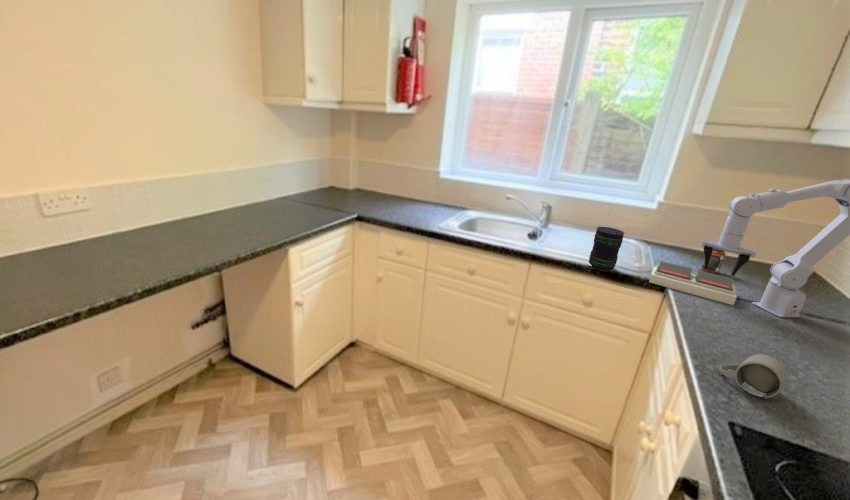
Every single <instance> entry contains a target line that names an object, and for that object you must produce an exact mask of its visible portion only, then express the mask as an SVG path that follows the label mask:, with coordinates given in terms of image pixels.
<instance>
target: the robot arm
mask: <svg viewBox="0 0 850 500" xmlns="http://www.w3.org/2000/svg"><path fill="white" fill-rule="evenodd" d="M748 195H749V196H746V195H745V196H744V195H740V196H739V195H738V196H736V197H735V198H734V199H732V200H731V201H730V202H729V203H728V207H729V208H728V209H729V210H730V211H729V213H728V216H727V218H726V220H725V223H724V226H723V228H722V231H721V234H720V236H719V239H718V242H717V241H716V242H715V241H710V240H704V239H702V240H701V242H700V247H701V248H703V253H704V259H705V265H704V269H707V267H708V263H709V259H710V257H711V254H712V251H713V249H717V250H722V251H724V252H725V253H726V252H728V253H732V254H735V255H738V256H737V257H736V258H737V259H736V261H735V265H734V266H733V269H732V271H731V276H733V277H735V275H736V274H737V272H738V271H739V270H740V269H741V268H742V267H743V266H744V265H745V264H746V263H748V262H749V261H750V259H751V258H753V259H754V258H755V257H756V254H757V250H752V249H749V248H744V247H741V244H742V242H743V239H744V237H745V233H746V231H747V229H748V225H749V223H750V220H751V217H752V216H754V215H755V214H756V213H762V212H766V211H767V212H768V211H771V210H777V209H781V208H785V206H787V204H789V203H792V202H799V201H804V200H805V201H806V200H810V199H816V198H822V197H826V198H827V197H828V198H832V199H834V200H835V201H836V202H837V205H838V207H839V213H840V214H838V216H837V217H835V218H834V219H833V220H832V221H831V222H829V223H828V225H827V226H825V227H824V228H823V229H822V230H821V231H820V232H818V233H817V234H816V235H815V236H814V237H813V238H811V239H810V240H809V241H808V242H807V243H806V244H805V245H804V246H803V247H802V248H801V249H799V250H798V251H797V252H796V253H794V254H791V255H789V256H786V257H784V259H782V260H781V261H777V262H775V263H773V265H771V267H770V269H769V270H770V271H769V272H770V275H771V277H770V278H769V280H768V283H767V285H766V288H765V290H764V292H763V295H762V297H761V299H760V301H753V302H751V304H753V305H754V306H757V307H758V308H761V309H762V310H765V311H766V312H769V313H771V314H773V315H775V316H777V317H779V318H800V316H801V315H800V313H801V311H802V309H803V307H804V304H805V302H806V300H807V295H806V294H805V292H802V291H800V290H799V289H800V288H802V287H803V286H805V285H806V284H807V281H808V279H809V277H810V276H811V275H812V274H813V273H814V269H815V265H816V264H817V263H818V262H820V260H821V261H822V259H823V258H824V257H825V256H826V255H828V254H829V253H830V252H831V251H833V250H834V249H835V248H836V247H837V246H838V245H839V244H841V243H842V242H843V241H844V240H845V239H847V238H848V237H849V236H850V178H842V179H835V180H829V181H825V182H821V183H817V184H813V185H809V186H808V185H807V186H805V187H800V188H796V189H793V190H789V191H784V190H782V189H776V188H769V189H768V191H764V192H760V193H756V194H755V193H749V194H748Z"/></svg>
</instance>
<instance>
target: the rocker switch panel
mask: <svg viewBox="0 0 850 500" xmlns="http://www.w3.org/2000/svg"><path fill="white" fill-rule="evenodd" d="M658 268H659V265H658V264H657V265H655V266H654V267H653V269H652V272H651V275H650V278H649V281H648V283H650V284H654V285H658V286H661V287H664V288H669V289H672V290H676V291H679V292H683V293H687V294H692V295H694V296H697V297H702V298H705V299H709V300H712V301H716V302H720V303H723V304H728V305H731V306H734V304H735V302H736V300H737V292H736V288H735V285H734V284H732V291H730V290H726V289H723V288H719V287H715V286H711V285H707V284H703V283H699V282H696V279H697V274H694V273H691V276H690V280H688V279H684V278H680V277H676V276H672V275H668V274H664V273H660V272H657V271H658Z"/></svg>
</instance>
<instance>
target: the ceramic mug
mask: <svg viewBox="0 0 850 500" xmlns="http://www.w3.org/2000/svg"><path fill="white" fill-rule="evenodd" d="M728 369H731V370H734V371H726V370H728ZM718 370H719V373H720V372H721V373H722V374H723V375H724V376H726V377H727V378H726V377H725V378H726V379H731V380H735V382H736V384H737V385H738V387H740V386H741V385H742V384H743V383H744V382H746V383H747V384H749V385H750V386H752V387H753V388H755V389H756V390H758V391H760V392H763V393H766V395H765V396H764V397H765V398H764V399H770V398H774V397H776V396H777V395H778V394H780V392H781V391H782V390H783V389H782V388H783V386H784V384H785V381H786V378H787V375H786V370H785V368H784V366H783V364H782V363H781V362H780V361H779V360H777V359H775V358H774V357H772V356H771V355H766V354H753V355H751V356H749V357H747V358H745V359H744V361H743V362H741V364H729V363H728V364H723V365H721V366H720V367H719V369H718ZM724 376H723V377H724Z"/></svg>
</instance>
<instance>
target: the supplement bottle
mask: <svg viewBox="0 0 850 500" xmlns="http://www.w3.org/2000/svg"><path fill="white" fill-rule="evenodd" d="M725 256H726V251H722V250H717V249H713V251H712V254H711V257H710V259H709V263H708V267H707V269H704V265H705V258H704V259H703V262H702V265H701V271H704V272H708V273H712V274H716V275H717V274H718V273H719V272H720V270H721V267H722V265H723V261H724V258H725Z"/></svg>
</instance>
